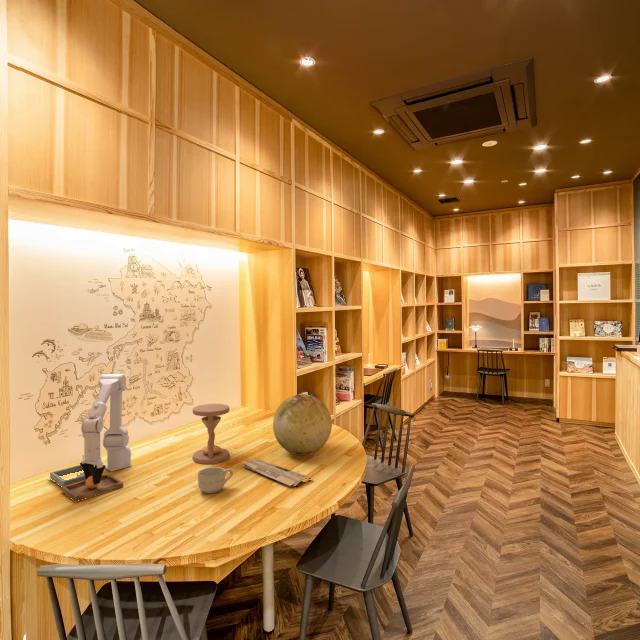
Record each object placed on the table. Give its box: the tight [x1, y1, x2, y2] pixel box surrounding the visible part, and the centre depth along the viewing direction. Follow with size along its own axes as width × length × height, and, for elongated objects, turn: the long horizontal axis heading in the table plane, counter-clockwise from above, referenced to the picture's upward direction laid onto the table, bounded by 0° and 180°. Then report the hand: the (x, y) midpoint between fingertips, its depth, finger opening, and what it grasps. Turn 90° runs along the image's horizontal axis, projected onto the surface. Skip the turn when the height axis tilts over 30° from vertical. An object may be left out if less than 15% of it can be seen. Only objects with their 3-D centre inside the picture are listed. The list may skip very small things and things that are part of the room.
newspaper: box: [241, 458, 312, 487], centre depth 185 cm, size 35×12×4 cm, turn 50°
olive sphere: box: [272, 393, 333, 456], centre depth 212 cm, size 30×30×30 cm
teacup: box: [197, 466, 234, 494], centre depth 169 cm, size 14×11×8 cm
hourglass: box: [192, 403, 230, 465], centre depth 205 cm, size 18×18×25 cm
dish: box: [49, 464, 86, 487], centre depth 179 cm, size 15×15×3 cm
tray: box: [61, 473, 124, 502], centre depth 169 cm, size 18×14×2 cm
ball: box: [85, 476, 98, 489], centre depth 168 cm, size 5×5×5 cm
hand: (92, 481), depth 169 cm, fingers open, 7 cm apart
